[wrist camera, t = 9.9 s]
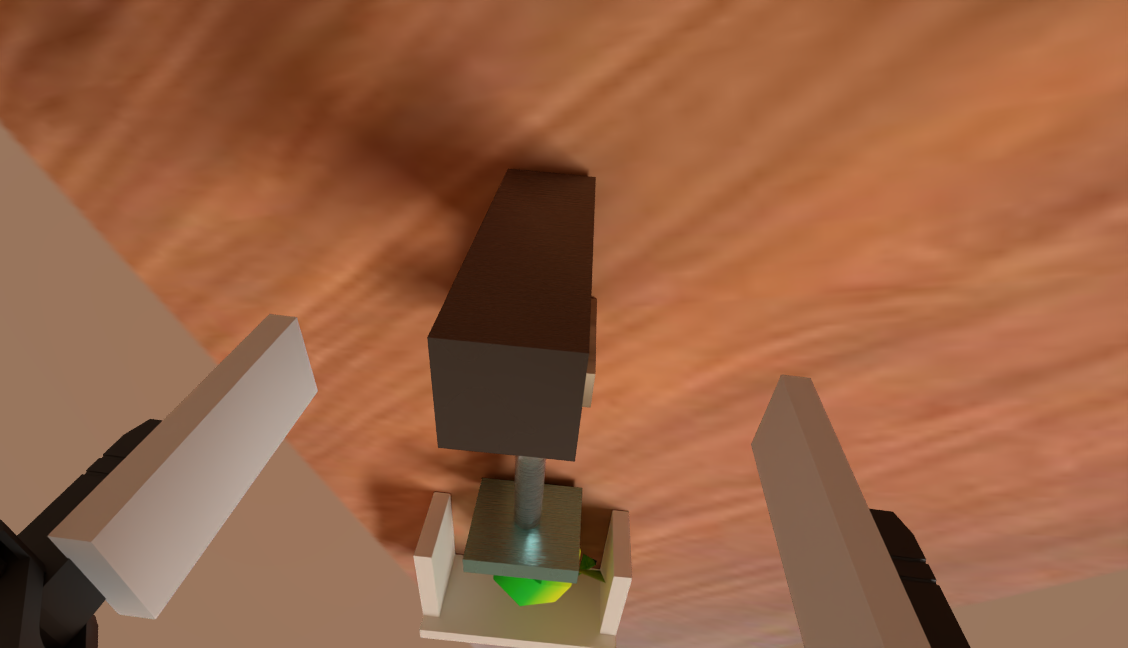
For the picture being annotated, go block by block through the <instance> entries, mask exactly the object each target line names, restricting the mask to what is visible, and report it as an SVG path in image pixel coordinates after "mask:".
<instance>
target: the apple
mask: <svg viewBox="0 0 1128 648" xmlns="http://www.w3.org/2000/svg"><path fill="white" fill-rule="evenodd" d="M580 553H581V549H580ZM579 559H580V555H579ZM596 563H597V561H596V560H594V559H592V558H590V557H588V556H586V555H584V554H583V557H582V561H581V564H580V568H579V573H578V576H579V575H580V574H584V575H586V576H589V577H591V578H594V579H597V580H599V581H602V582H604V583H605V580H604V578H603V575H602V573H601V571H600V570H588V569H590V568H592V567H593V566H595V565H596ZM493 580H494V581H495V582H496V583H497V584H498V585H499V586H500V587H501V588H502V589H503V590H504V591H505V592H506V593H507V594H508V595H509V596H510V597H511V598H512V599H513V600H514V601H515V602H516V603H517V604H518V605H519V606H526V605H534V604H543V603H551V602H556V601H557V600H558V599H559V598H560V597H561V596H562V595H563V594H564V593H565V592H566V591H567V590H568V589H569V588H570V587H571V585H572V583H566V582H556V581H546V580H537V579H527V578H517V577H508V576H498V575H493Z"/></svg>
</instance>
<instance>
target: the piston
mask: <svg viewBox="0 0 1128 648" xmlns="http://www.w3.org/2000/svg"><path fill="white" fill-rule="evenodd" d="M595 180H596V177H588V176H578V175H567V174H557V173H546V172H536V171H526V170H515V169H508V170H507V172H506V174H505V176H504V178H503V180H502V183H501V185H500V187H499V189H498V191H497V193H496V195H495V197H494V199H493V201H492V203H491V206H490V208H489V210H488V212H487V214H486V216H485V218H484V220H483V222H482V224H481V226H480V229H479V231H478V233H477V235H476V237H475V239H474V241H473V243H472V245H471V247H470V249H469V252H468V254H467V256H466V258H465V260H464V262H463V264H462V266H461V268H460V270H459V272H458V275H457V277H456V279H455V281H454V283H453V285H452V287H451V289H450V291H449V293H448V295H447V298H446V300H445V302H444V304H443V306H442V308H441V310H440V312H439V314H438V316H437V318H436V321H435V323H434V325H433V327H432V329H431V331H430V333H429V335H428V337H427V338H428V349H429V359H430V369H431V380H432V390H433V401H434V411H435V421H436V432H437V442H438V448H447V449H457V450H466V451H476V452H486V453H496V454H506V455H516V456H515V481H509V480H499V479H489V478H482V480H481V485H480V489H479V493H478V497H477V501H476V506H475V510H474V514H473V518H472V522H471V527H470V531H469V535H468V539H467V543H466V548H465V552H464V556H463V571H464V572H469V573H478V574H488V575H498V576H508V577H517V578H527V579H537V580H546V581H556V582H566V583H576V584H577V579H578V573H579V555H580V530H581V506H582V488H578V487H568V486H558V485H548V484H544V478H545V466H546V459H556V460H566V461H575V456H576V449H577V441H578V434H579V426H580V419H581V411H582V404H583V396H584V389H585V381H586V373H587V366H588V358H589V344H590V317H591V289H592V262H593V235H594V208H595Z"/></svg>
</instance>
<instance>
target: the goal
mask: <svg viewBox="0 0 1128 648" xmlns="http://www.w3.org/2000/svg"><path fill="white" fill-rule="evenodd" d="M463 556H464V555H457V554H455V544H454V532H453V520H452V508H451V496H450V494H449V493H440V492H434V494H433V497H432V500H431V503H430V506H429V509H428V512H427V516H426V519H425V522H424V525H423V528H422V531H421V534H420V537H419V540H418V543H417V546H416V550H415V553H414V562H415V568H416V574H417V580H418V586H419V592H420V598H421V604H422V610H423V619H422V622H421V626H420V635H421V637H422V638H431V639H441V640H450V641H460V642H470V643H479V644H489V645H498V646H508V647H518V648H616V633H617V629H618V626H619V622H620V619H621V615H622V612H623V608H624V605H625V601H626V598H627V594H628V591H629V587H630V584H631V580H632V566H631V545H630V524H629V512H627V511H617V510H613V511H612V515H611V520H610V525H609V529H608V534H607V539H606V543H605V548H604V553H603V557H602V562H601V567H600V569H594V568H590V569H588V570H600V571H601V573H602V575H603V578H604V580H605V583H604V582H602V581H599V580H597V579H594V578H591V577H589V576H586V575H584V574H580V575H579V576H578V579H577V584H576V583H572V585H571V587H570V588H569V589H568V590H567V591H566V592H565V593H564V594H563V595H562V596H561V597H560V598H559V599H558V600H557V601H556V602H551V603H543V604H534V605H526V606H519V605H518V604H517V603H516V602H515V601H514V600H513V599H512V598H511V597H510V596H509V595H508V594H507V593H506V592H505V591H504V590H503V589H502V588H501V587H500V586H499V585H498V584H497V583H496V582H495V581H494V580H493V575H488V574H478V573H469V572H464V571H463ZM579 568H580V567H579Z"/></svg>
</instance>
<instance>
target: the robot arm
mask: <svg viewBox="0 0 1128 648" xmlns="http://www.w3.org/2000/svg"><path fill="white" fill-rule="evenodd" d="M317 392H318V390H317V387H316V383H315V380H314V376H313V373H312V369H311V366H310V362H309V358H308V355H307V351H306V348H305V344H304V341H303V337H302V334H301V330H300V327H299V323H298V320H297V317H290V316H282V315H273V314H269V315H268V316H267V317H266V318H265V319H264V320H263V321H262V322H261V323H260V324H259V325H258V326H257V327H256V328H255V329H254V330H253V331H252V332H251V333H250V334H249V335H248V336H247V337H246V338H245V339H244V340H243V341H242V342H241V343H240V344H239V345H238V346H237V347H236V348H235V349H234V350H233V351H232V352H231V353H230V354H229V355H228V356H227V357H226V358H225V359H224V360H223V361H222V362H221V363H220V364H219V365H218V366H217V367H216V368H215V369H214V370H213V371H212V372H211V373H210V374H209V375H208V376H207V377H206V378H205V379H204V380H203V381H202V382H201V383H200V384H199V385H198V386H197V387H196V388H195V389H194V390H193V391H192V392H191V393H190V394H189V395H188V396H187V397H186V398H185V399H184V400H183V401H182V402H181V403H180V404H179V405H178V406H177V407H176V408H175V409H174V410H173V411H172V412H171V413H170V414H169V415H168V416H167V417H166V418H165V419H164V420H163V421H162V420H154V419H149V420H148V421H146V422H144V423H143V424H141V425H139V426H138V427H136V428H134V429H133V430H131V431H129V432H128V433H126V434H124V435H123V436H122V437H121V438H120V439H119V440H118V441H117V442H116V443H115V444H113V445H112V446H111V447H110V448H109V449H108V450H107V451H106V452H105V453H104V454H103V457H102V458H99V459H98V460H97V461H96V462H94V464H92V465H91V466H90V467H89V468H88V469H87V470H86V471H87V472H86V474H85V475H83V474H82V475H81V476H80V477H79V478H78V479H77V480H76V481H74V483H72V484H71V485H70V486H69V487H68V488H67V489H66V490H65V491H64V492H63V493H62V494H61V495H60V496H59V497H58V498H57V499H56V500H54V501H53V502H52V503H51V504H50V505H49V506H48V507H47V508H46V509H45V510H44V511H43V512H42V513H41V514H40V515H39V516H38V517H37V518H36V519H35V520H34V521H32V522H31V523H30V524H29V525H28V526H27V527H26V528H25V529H24V530H23V531H22V532H21V533H20V534H18V535H17V536H16V535H15V534H14V532H13V531H11V529H10V528H9V527H8V526H7V525H6V524H5V523H4V522H3V521H2V520H0V648H98V624H97V620H96V617H95V616H94V615H93V614H94V613H95V612H96V610H97V609H98V608H99V607H100V606H101V604H102V603H103V602H104V601H105V600H106V601H107V602H108V603H109V604H110V605H111V606H112V607H113V609H114V610H115V611H116V612H117V613H118V614H121V615H128V616H135V617H142V618H149V619H156V618H157V617H158V615H159V614H160V613H161V611H162V610H163V608H164V607H165V606H166V604H167V603H168V601H169V600H170V598H171V597H172V596H173V594H174V593H175V591H176V590H177V589H178V587H179V586H180V584H181V583H182V582H183V580H184V579H185V577H186V576H187V574H188V573H189V572H190V570H191V569H192V568H193V566H194V564H195V563H196V562H197V560H198V559H199V558H200V556H201V555H202V553H203V552H204V551H205V549H206V548H207V546H208V545H209V544H210V542H211V541H212V539H213V538H214V537H215V535H216V534H217V532H218V531H219V530H220V528H221V527H222V525H223V524H224V522H225V521H226V519H227V518H228V517H229V515H230V514H231V513H232V511H233V510H234V508H235V507H236V506H237V504H238V503H239V501H240V500H241V499H242V497H243V496H244V494H245V493H246V491H247V490H248V489H249V487H250V486H251V484H252V483H253V482H254V480H255V479H256V477H257V476H258V475H259V473H260V472H261V470H262V469H263V468H264V466H265V464H266V463H267V462H268V460H269V459H270V458H271V456H272V455H273V453H274V452H275V451H276V449H277V448H278V446H279V445H280V444H281V442H282V441H283V439H284V438H285V437H286V435H287V434H288V432H289V431H290V430H291V428H292V427H293V425H294V424H295V423H296V421H297V420H298V418H299V417H300V415H301V414H302V413H303V411H304V410H305V408H306V407H307V406H308V404H309V403H310V401H311V400H312V399H313V397H314V396H315V394H316V393H317ZM751 446H752V450H753V453H754V457H755V461H756V465H757V469H758V473H759V476H760V480H761V484H762V488H763V492H764V495H765V499H766V503H767V507H768V511H769V514H770V518H771V522H772V526H773V530H774V533H775V537H776V541H777V545H778V549H779V552H780V556H781V560H782V564H783V568H784V571H785V575H786V579H787V583H788V587H789V590H790V594H791V598H792V602H793V606H794V609H795V613H796V617H797V621H798V625H799V629H800V632H801V636H802V640H803V644H804V648H970V646H969V644H968V642H967V640H966V638H965V636H964V634H963V632H962V630H961V628H960V626H959V624H958V622H957V620H956V618H955V616H954V614H953V612H952V610H951V608H950V606H949V604H948V602H947V600H946V598H945V596H944V594H943V592H942V590H941V588H940V586H939V585H937V584H936V578H935V576H934V574H933V572H932V570H931V568H930V566H929V564H926V558H925V556H924V554H923V552H922V551H921V549H920V547H919V545H918V543H917V541H916V539H915V537H914V535H913V534H912V532H911V531H910V530H909V529H908V528H907V527H906V526H905V525H904V524H903V522H902V521H901V520H900V519H899V518H898V517H897V516H896V515H895V513H894V512H891V511H883V510H875V509H869V508H868V506H867V503H866V501H865V499H864V497H863V494H862V492H861V490H860V488H859V485H858V483H857V481H856V479H855V476H854V474H853V472H852V470H851V468H850V465H849V463H848V461H847V459H846V456H845V454H844V452H843V450H842V447H841V445H840V443H839V441H838V438H837V436H836V434H835V432H834V429H833V427H832V425H831V423H830V421H829V418H828V416H827V414H826V412H825V409H824V407H823V405H822V403H821V400H820V398H819V396H818V394H817V391H816V389H815V387H814V385H813V382H812V380H811V378H805V377H797V376H788V375H781V377H780V379H779V381H778V383H777V386H776V388H775V390H774V393H773V395H772V397H771V400H770V402H769V404H768V407H767V409H766V411H765V414H764V416H763V418H762V421H761V423H760V425H759V428H758V430H757V432H756V435H755V437H754V439H753V441H752V444H751Z"/></svg>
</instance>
